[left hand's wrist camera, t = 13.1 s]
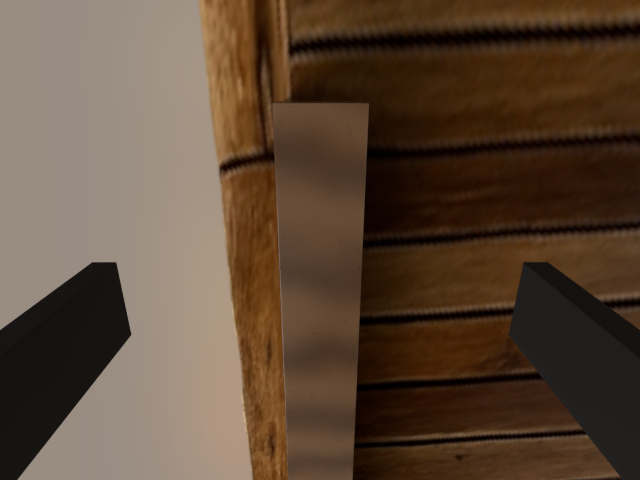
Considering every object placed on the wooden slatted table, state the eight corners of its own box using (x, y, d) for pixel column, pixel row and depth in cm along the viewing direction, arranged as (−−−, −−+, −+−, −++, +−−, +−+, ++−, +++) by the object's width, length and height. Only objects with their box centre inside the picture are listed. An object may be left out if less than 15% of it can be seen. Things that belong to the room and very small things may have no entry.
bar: (284, 100, 31) (272, 102, 23) (356, 100, 31) (369, 102, 23) (296, 508, 48) (292, 587, 41) (343, 508, 48) (347, 587, 41)
